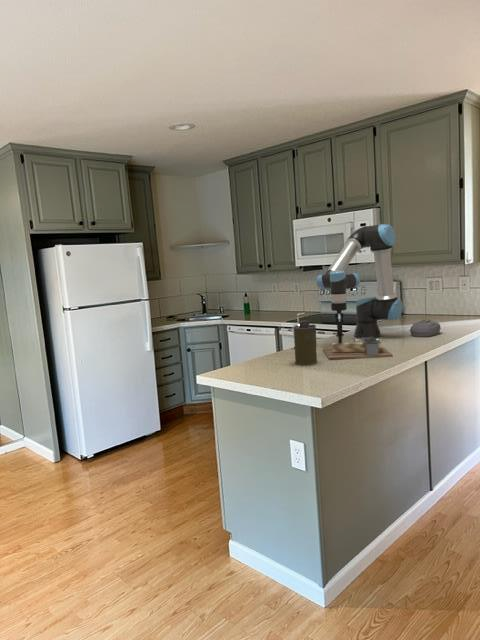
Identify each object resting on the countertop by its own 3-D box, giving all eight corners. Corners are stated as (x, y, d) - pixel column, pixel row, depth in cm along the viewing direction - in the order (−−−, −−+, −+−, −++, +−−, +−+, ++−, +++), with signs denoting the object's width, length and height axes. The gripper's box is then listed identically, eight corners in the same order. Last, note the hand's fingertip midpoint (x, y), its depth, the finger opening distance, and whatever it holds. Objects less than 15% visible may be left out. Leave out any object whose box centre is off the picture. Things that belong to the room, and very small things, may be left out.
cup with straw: (303, 345, 270) (301, 310, 268) (310, 348, 262) (308, 311, 259) (289, 347, 268) (287, 312, 265) (296, 350, 259) (294, 313, 257)
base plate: (322, 350, 253) (322, 348, 253) (380, 347, 252) (380, 345, 252) (329, 360, 229) (329, 358, 229) (392, 356, 228) (392, 354, 228)
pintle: (374, 341, 237) (374, 338, 237) (379, 341, 237) (379, 338, 236) (375, 342, 234) (375, 339, 234) (381, 342, 234) (381, 339, 234)
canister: (303, 366, 220) (301, 323, 217) (290, 362, 229) (288, 321, 227) (322, 362, 225) (320, 320, 222) (309, 359, 234) (307, 318, 232)
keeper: (361, 351, 240) (361, 337, 239) (372, 350, 240) (372, 336, 239) (366, 355, 229) (366, 341, 228) (378, 355, 229) (378, 340, 228)
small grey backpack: (419, 331, 292) (405, 336, 278) (418, 318, 291) (404, 322, 277) (444, 333, 282) (431, 338, 267) (444, 318, 281) (431, 323, 266)
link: (383, 349, 238) (382, 341, 237) (383, 351, 233) (383, 343, 232) (332, 350, 244) (332, 342, 244) (332, 352, 239) (331, 344, 239)
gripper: (331, 301, 247) (332, 346, 250) (330, 304, 234) (332, 351, 237) (346, 300, 245) (347, 346, 248) (346, 303, 233) (348, 351, 236)
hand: (340, 348), depth 243 cm, fingers closed
